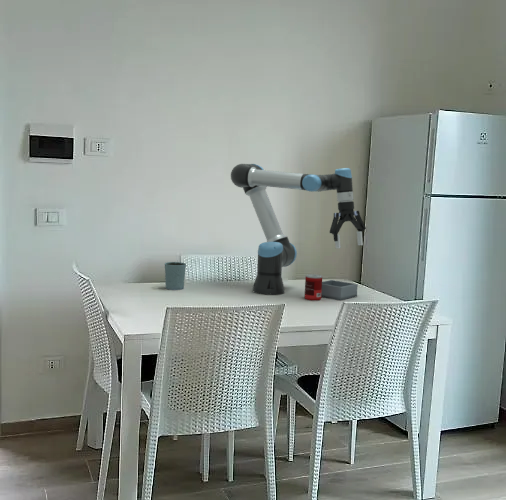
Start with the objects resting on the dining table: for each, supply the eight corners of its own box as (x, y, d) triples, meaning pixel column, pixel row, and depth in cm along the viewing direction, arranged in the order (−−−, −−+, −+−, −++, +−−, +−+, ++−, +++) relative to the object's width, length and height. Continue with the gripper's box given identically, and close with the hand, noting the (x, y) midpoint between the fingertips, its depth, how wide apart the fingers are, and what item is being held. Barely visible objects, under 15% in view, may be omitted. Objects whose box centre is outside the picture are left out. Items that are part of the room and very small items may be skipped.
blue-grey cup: (182, 286, 336) (183, 261, 334) (187, 290, 326) (188, 265, 325) (162, 286, 332) (162, 261, 331) (166, 290, 323) (166, 265, 321)
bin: (314, 295, 327) (314, 283, 326) (330, 291, 338) (331, 279, 337) (340, 300, 318) (341, 287, 317) (356, 296, 329) (357, 284, 328)
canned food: (321, 298, 322) (322, 274, 320) (321, 301, 314) (322, 277, 312) (304, 296, 322) (305, 273, 321) (304, 300, 314) (305, 276, 313)
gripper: (329, 202, 314) (333, 249, 315) (371, 199, 327) (374, 243, 328) (319, 203, 320) (323, 249, 321) (360, 200, 334) (363, 244, 335)
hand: (349, 246), depth 325 cm, fingers open, 13 cm apart
